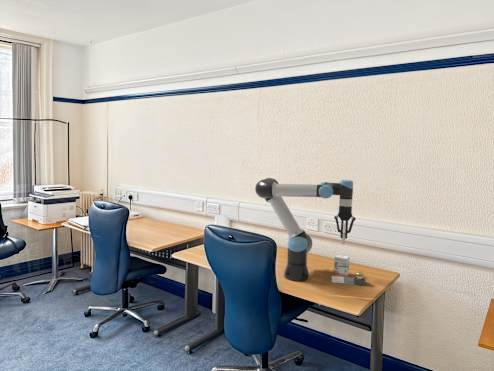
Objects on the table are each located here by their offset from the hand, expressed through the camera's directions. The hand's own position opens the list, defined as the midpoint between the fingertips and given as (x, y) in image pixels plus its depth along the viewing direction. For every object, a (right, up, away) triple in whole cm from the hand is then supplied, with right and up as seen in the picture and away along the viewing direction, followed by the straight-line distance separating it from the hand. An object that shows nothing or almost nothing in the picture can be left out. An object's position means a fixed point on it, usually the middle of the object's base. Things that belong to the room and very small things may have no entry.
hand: (343, 243), depth 232 cm
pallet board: (0, -21, -9) cm, 23 cm away
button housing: (+6, -21, -13) cm, 25 cm away
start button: (+6, -21, -13) cm, 25 cm away
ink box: (-1, -20, +3) cm, 21 cm away
